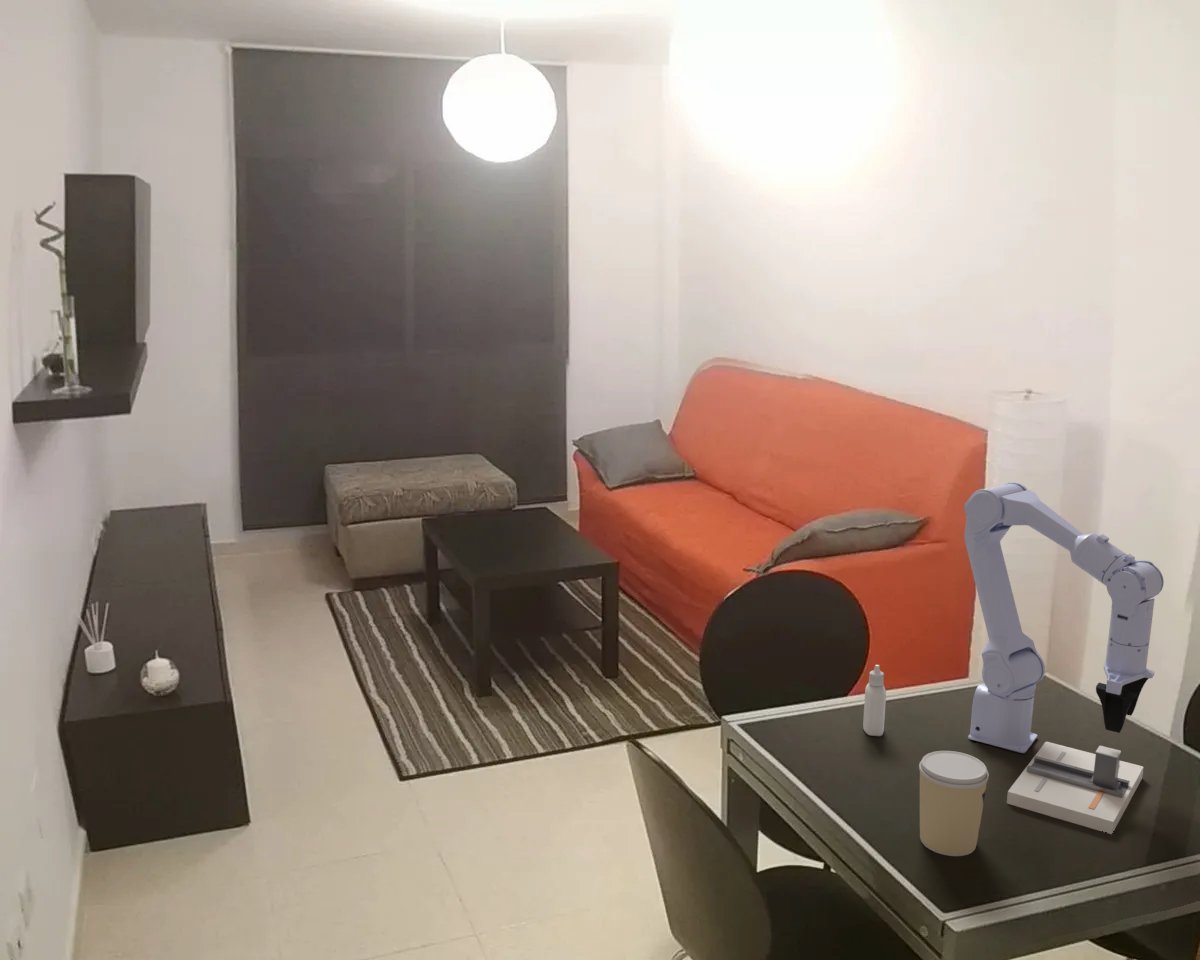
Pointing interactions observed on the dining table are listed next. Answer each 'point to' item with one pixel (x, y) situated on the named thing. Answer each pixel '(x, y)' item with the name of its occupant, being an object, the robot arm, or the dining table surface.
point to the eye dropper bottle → (874, 703)
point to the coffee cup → (951, 801)
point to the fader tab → (1106, 767)
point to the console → (1073, 788)
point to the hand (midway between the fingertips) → (1118, 721)
